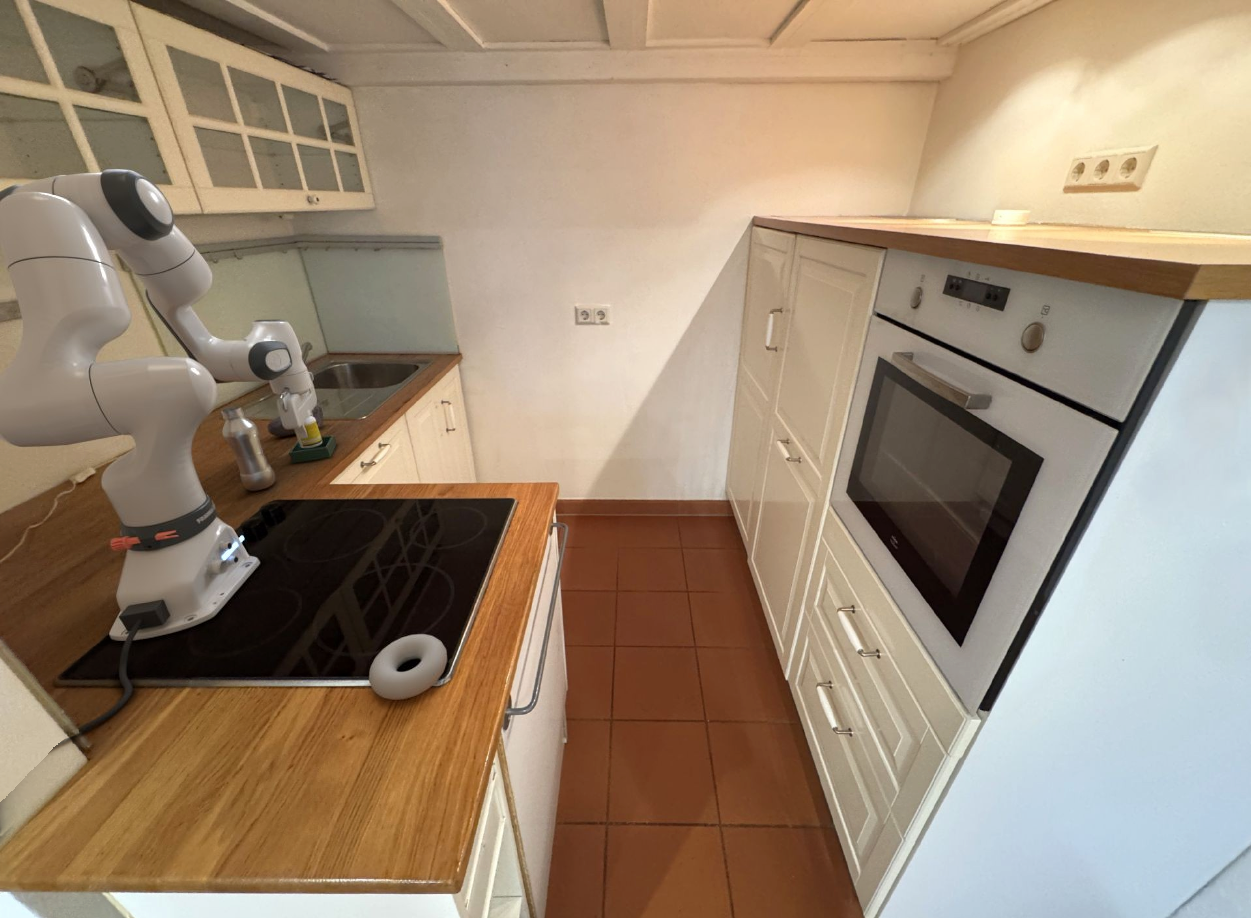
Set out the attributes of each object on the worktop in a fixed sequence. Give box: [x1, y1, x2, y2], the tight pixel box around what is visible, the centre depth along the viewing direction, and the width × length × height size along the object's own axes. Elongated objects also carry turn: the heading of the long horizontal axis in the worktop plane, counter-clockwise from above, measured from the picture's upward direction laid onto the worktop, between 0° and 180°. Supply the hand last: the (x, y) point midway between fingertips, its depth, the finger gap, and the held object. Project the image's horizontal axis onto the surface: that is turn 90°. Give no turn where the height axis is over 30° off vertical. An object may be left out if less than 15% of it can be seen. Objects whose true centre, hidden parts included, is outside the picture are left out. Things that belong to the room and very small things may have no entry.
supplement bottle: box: [294, 410, 322, 448], centre depth 133 cm, size 5×5×10 cm
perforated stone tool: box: [267, 405, 324, 437], centre depth 149 cm, size 15×5×7 cm, turn 127°
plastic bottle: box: [220, 405, 276, 492], centre depth 116 cm, size 6×7×20 cm
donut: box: [368, 633, 448, 701], centre depth 68 cm, size 10×3×10 cm
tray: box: [288, 434, 337, 464], centre depth 136 cm, size 9×9×3 cm
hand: (307, 432), depth 134 cm, fingers closed on supplement bottle, 5 cm apart
